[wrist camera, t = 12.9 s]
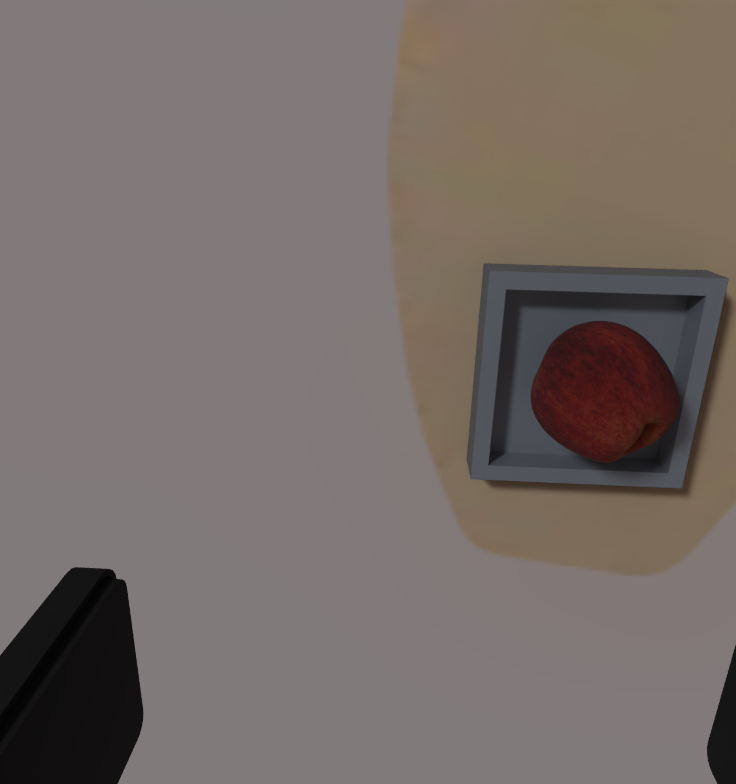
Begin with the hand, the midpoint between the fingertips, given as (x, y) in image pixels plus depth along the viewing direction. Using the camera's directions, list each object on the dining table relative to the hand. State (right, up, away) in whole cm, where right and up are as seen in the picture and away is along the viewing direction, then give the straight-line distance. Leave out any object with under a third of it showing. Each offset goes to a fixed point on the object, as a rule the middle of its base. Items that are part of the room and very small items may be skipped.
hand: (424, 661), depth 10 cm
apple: (+12, +6, +29) cm, 32 cm away
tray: (+12, +5, +30) cm, 33 cm away
